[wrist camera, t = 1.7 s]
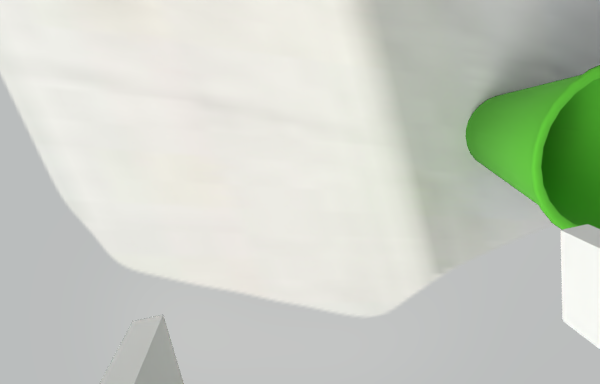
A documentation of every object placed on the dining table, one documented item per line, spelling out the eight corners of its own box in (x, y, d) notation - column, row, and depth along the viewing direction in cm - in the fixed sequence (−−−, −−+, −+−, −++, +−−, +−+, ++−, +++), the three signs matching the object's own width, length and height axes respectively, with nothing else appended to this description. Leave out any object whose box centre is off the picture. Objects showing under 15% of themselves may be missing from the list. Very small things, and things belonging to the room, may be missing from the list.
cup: (433, 78, 30) (532, 73, 19) (555, 59, 30) (718, 43, 19) (441, 199, 32) (534, 256, 21) (555, 179, 32) (700, 225, 22)
